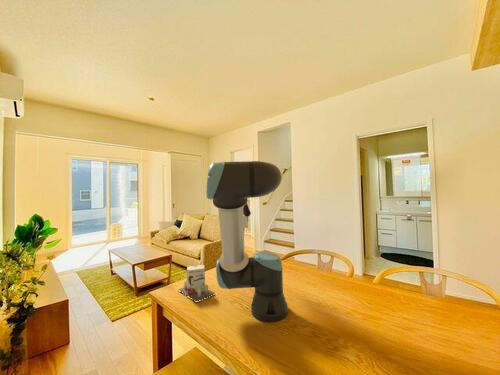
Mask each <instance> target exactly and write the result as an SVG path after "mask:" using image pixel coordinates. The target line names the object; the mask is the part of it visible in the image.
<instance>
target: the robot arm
mask: <svg viewBox="0 0 500 375" xmlns="http://www.w3.org/2000/svg"><path fill="white" fill-rule="evenodd" d="M206 178H207V180H206V199H208V200H212V204H213V206H214V207H215V208H216V209H217V210H218V220H219V228H220V230H219V231H220V240H221V251H222V252H221V253H222V254H221V255H220V257H219V258H218V259H217V261H216V265H215V266H216V267H215V270H216V271H215V274H216V280H217V284H218V286H219V287H220V288H221V289H227V290H231V289H233V290H234V289H250V288H254V294H253V298H252V302H251V305H250V309H251V310H250V311H251V315H252V316H253V318H255V319H257V320H259V321H262V322H269V323H272V322H278V321H281V320H283V319H284V318H286V317H287V316H288V313H289V306H288V303H287V301H286V298H285V294H284V284H283V280H284V279H283V270H284V269H283V261H282V258H281V257H280V255H277V254H275V253H272V252H267V251H258V252H255V253H253V256H252V257H249V255H248V253H246V252H245V229H249V217H250V215H251V214H252V213H251V209H250V208H249V205H248V199H249V198H251V199H252V198H261V197H265V196H267V195H269V194H271V193H273V192H275V191H276V190H277V189H278V187H279V186H280V184H281V182H282V179H283V178H282V172H281V170H280V169H279V167H278V166H277V165H275V164H274V163H269V162H266V161H260V160H252V161H221V162H213V163H211V164H210V165H209V168H208V171H207V177H206Z"/></svg>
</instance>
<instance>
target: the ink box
mask: <svg viewBox="0 0 500 375" xmlns="http://www.w3.org/2000/svg"><path fill="white" fill-rule="evenodd" d="M205 270H206V268H205V265H204V264H198V265H191V266H187V267H186V280H187V293H188V294H193V293H198V288H201V292H205V285H206V273H205Z"/></svg>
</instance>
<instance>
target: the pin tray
mask: <svg viewBox="0 0 500 375" xmlns="http://www.w3.org/2000/svg"><path fill="white" fill-rule="evenodd" d="M183 282H184V284H183V285H184V286H183V287H182V288H179V289H178V291H179V290H180V291H181V292H183V293H184V294H186V295H187V296H189V297H190V298H192V299H193V300H195V301H199V300H202V299H204V298H207V297H209V296H211V295H213V294H215V293H216V292H214V291H212V290H210V289H209V284H205V292H201V288H198V293H193V294H188V293H187V279H185V280H184V281H183ZM215 295H216V294H215ZM213 296H214V295H213ZM211 297H212V296H211ZM209 298H210V297H209ZM207 299H208V298H207Z"/></svg>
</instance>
